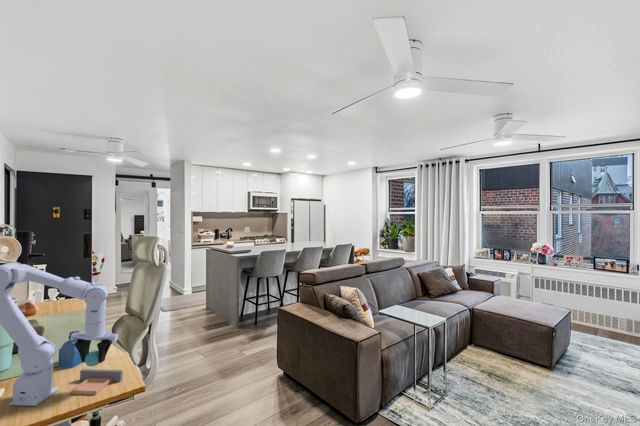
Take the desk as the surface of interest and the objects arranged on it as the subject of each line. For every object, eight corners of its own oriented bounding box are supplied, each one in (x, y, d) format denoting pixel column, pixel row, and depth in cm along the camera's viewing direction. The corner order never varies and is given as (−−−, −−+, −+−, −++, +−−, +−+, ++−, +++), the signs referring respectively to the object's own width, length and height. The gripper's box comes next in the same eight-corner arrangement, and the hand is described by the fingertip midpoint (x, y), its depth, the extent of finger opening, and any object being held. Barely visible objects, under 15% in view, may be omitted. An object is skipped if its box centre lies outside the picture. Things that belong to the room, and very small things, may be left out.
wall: (120, 381, 112) (120, 371, 112) (79, 380, 112) (80, 370, 112) (122, 380, 113) (122, 370, 113) (82, 378, 113) (82, 369, 113)
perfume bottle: (86, 360, 126) (88, 330, 126) (73, 367, 120) (74, 336, 120) (72, 359, 127) (73, 329, 127) (58, 366, 121) (59, 334, 121)
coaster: (96, 394, 104) (96, 390, 104) (71, 393, 104) (71, 390, 104) (111, 381, 112) (111, 378, 112) (88, 381, 112) (88, 377, 112)
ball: (96, 369, 106) (96, 354, 106) (80, 369, 105) (81, 354, 105) (105, 362, 111) (106, 347, 111) (90, 362, 110) (91, 347, 110)
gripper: (124, 318, 112) (122, 356, 112) (82, 316, 112) (80, 355, 112) (111, 325, 105) (109, 366, 105) (66, 323, 105) (64, 365, 105)
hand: (93, 361), depth 108 cm, fingers closed on ball, 5 cm apart
